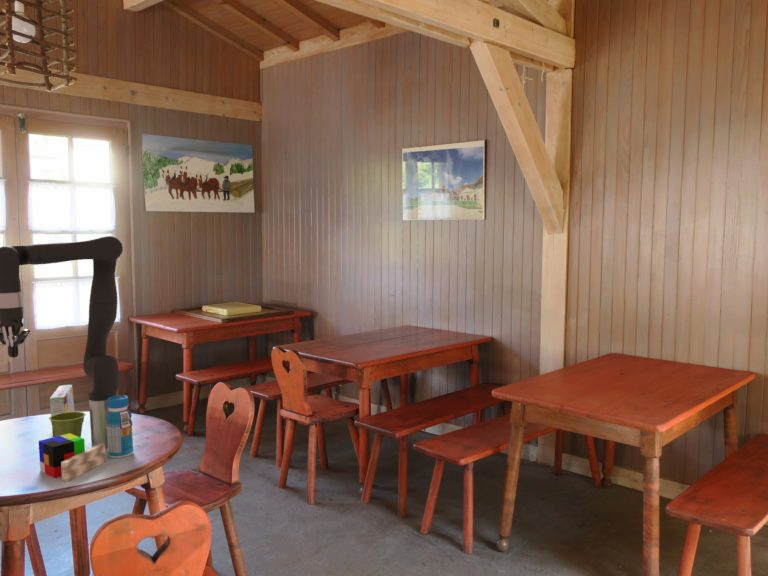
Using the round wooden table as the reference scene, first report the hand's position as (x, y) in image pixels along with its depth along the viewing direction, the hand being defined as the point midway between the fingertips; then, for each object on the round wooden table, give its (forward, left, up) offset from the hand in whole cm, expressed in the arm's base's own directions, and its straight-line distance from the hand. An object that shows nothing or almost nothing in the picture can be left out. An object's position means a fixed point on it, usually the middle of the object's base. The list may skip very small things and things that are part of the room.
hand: (13, 357), depth 220 cm
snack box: (-33, -10, -35) cm, 49 cm away
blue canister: (-10, +32, -35) cm, 49 cm away
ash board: (+6, +30, -35) cm, 47 cm away
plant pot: (-14, +8, -35) cm, 39 cm away
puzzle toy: (+6, +23, -35) cm, 42 cm away
